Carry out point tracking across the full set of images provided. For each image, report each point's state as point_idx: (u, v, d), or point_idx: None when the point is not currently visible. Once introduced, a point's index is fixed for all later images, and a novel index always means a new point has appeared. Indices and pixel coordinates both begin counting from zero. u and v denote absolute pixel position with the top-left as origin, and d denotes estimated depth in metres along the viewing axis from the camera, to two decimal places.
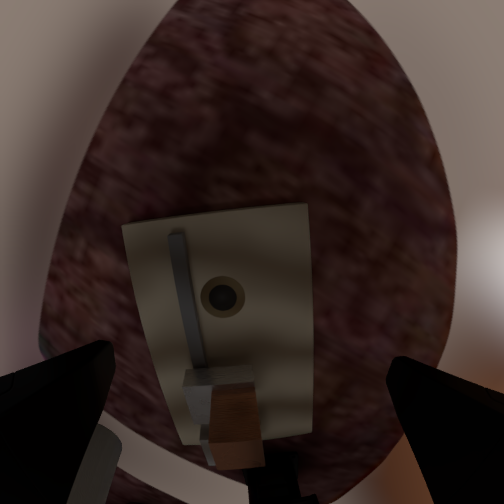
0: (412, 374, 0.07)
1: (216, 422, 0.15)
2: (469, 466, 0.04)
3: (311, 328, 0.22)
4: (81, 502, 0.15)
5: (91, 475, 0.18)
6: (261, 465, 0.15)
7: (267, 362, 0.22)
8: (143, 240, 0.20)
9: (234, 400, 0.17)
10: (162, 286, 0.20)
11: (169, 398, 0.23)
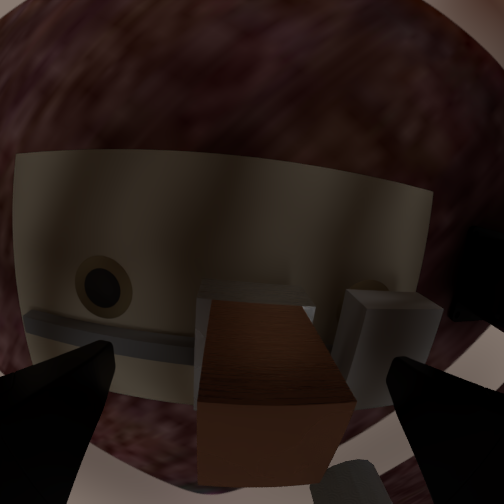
0: (412, 374, 0.07)
1: None
2: (469, 466, 0.04)
3: (180, 154, 0.12)
4: None
5: None
6: (351, 409, 0.05)
7: (232, 243, 0.13)
8: (43, 354, 0.13)
9: None
10: None
11: None
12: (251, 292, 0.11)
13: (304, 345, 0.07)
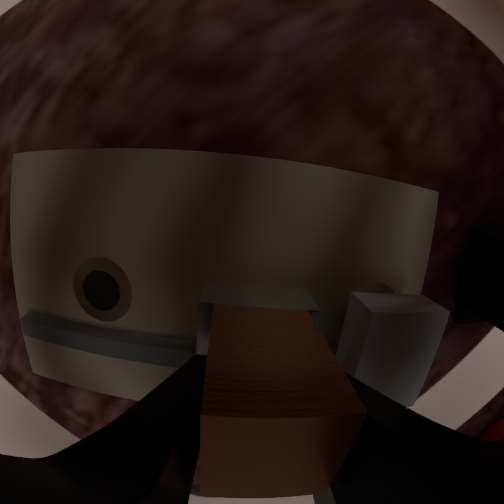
0: None
1: None
2: (377, 501, 0.04)
3: (181, 153, 0.11)
4: None
5: None
6: (362, 420, 0.05)
7: (235, 245, 0.12)
8: (42, 357, 0.13)
9: None
10: (88, 359, 0.13)
11: None
12: (254, 295, 0.10)
13: (311, 352, 0.07)
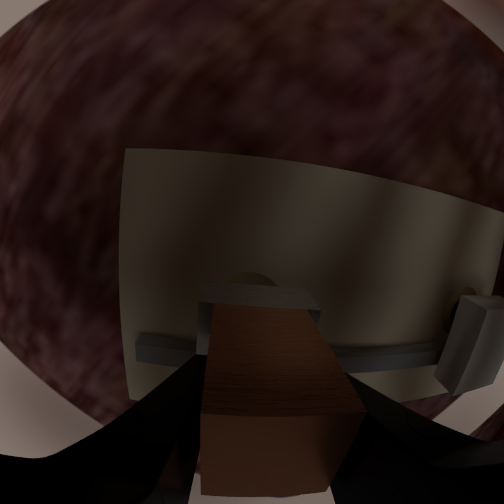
0: None
1: None
2: (377, 501, 0.04)
3: (343, 172, 0.12)
4: None
5: None
6: (361, 418, 0.05)
7: (381, 258, 0.13)
8: (148, 382, 0.14)
9: None
10: None
11: None
12: (254, 295, 0.10)
13: (311, 351, 0.07)
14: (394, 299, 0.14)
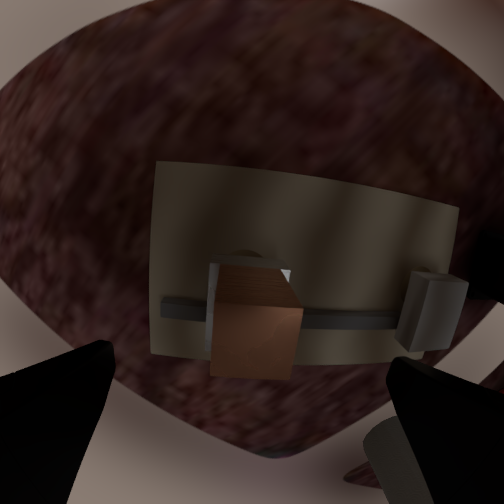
0: (412, 374, 0.07)
1: None
2: (469, 466, 0.04)
3: (311, 178, 0.17)
4: (423, 497, 0.13)
5: (408, 469, 0.17)
6: (301, 315, 0.10)
7: (343, 241, 0.18)
8: (166, 337, 0.19)
9: None
10: None
11: (356, 359, 0.20)
12: (246, 261, 0.15)
13: (278, 286, 0.12)
14: (355, 273, 0.19)
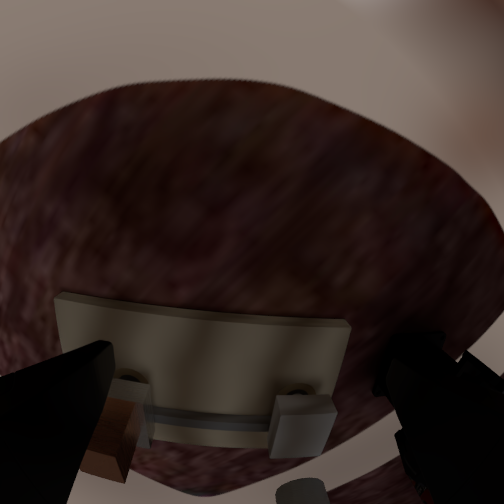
0: (412, 374, 0.07)
1: None
2: (469, 466, 0.04)
3: (171, 318, 0.19)
4: None
5: None
6: (116, 459, 0.11)
7: (208, 367, 0.20)
8: None
9: None
10: None
11: (240, 445, 0.22)
12: (117, 389, 0.17)
13: (116, 428, 0.13)
14: (224, 389, 0.20)
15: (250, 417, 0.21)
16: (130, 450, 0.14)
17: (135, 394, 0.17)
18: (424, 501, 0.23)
